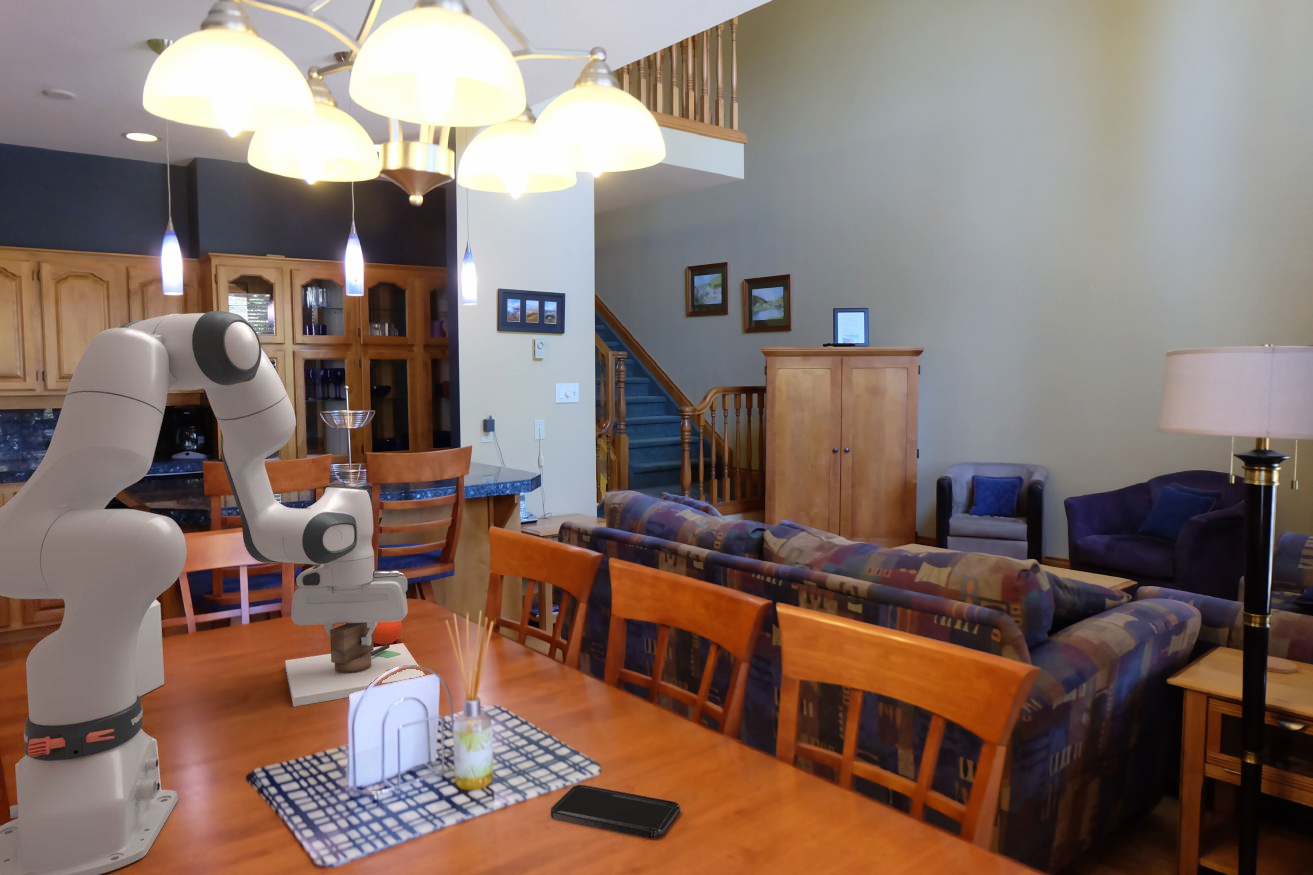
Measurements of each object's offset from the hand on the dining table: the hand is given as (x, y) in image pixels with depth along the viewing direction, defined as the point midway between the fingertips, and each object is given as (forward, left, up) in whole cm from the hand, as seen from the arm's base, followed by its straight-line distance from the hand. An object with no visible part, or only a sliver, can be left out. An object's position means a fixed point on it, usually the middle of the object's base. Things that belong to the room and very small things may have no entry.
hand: (351, 645), depth 155 cm
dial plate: (0, 0, -6) cm, 6 cm away
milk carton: (+11, +36, -6) cm, 38 cm away
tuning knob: (+2, -2, -4) cm, 5 cm away
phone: (-69, -23, -6) cm, 73 cm away
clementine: (+17, -8, -6) cm, 20 cm away
